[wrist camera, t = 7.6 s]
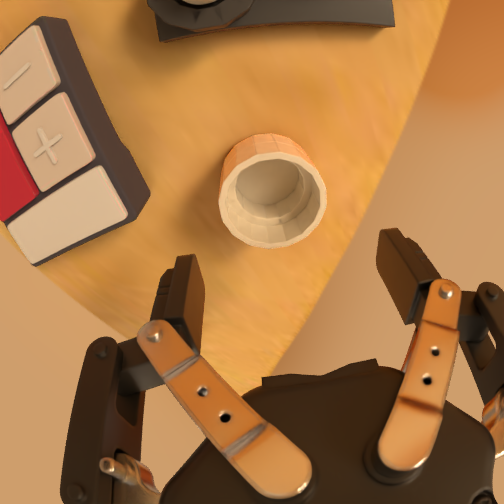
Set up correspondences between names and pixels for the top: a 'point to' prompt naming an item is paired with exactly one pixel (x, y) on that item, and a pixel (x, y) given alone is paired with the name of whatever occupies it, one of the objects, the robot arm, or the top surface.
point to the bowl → (270, 192)
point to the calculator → (59, 148)
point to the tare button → (199, 1)
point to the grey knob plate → (264, 15)
